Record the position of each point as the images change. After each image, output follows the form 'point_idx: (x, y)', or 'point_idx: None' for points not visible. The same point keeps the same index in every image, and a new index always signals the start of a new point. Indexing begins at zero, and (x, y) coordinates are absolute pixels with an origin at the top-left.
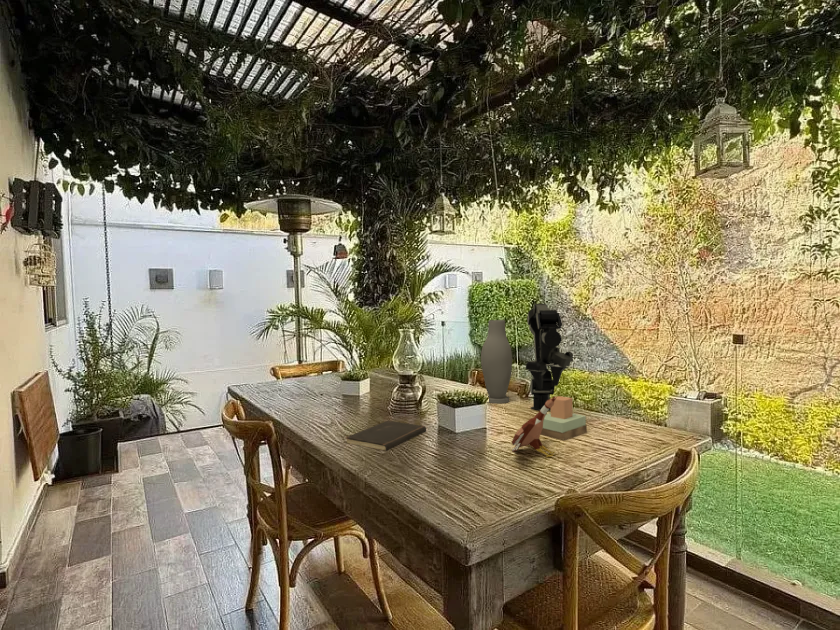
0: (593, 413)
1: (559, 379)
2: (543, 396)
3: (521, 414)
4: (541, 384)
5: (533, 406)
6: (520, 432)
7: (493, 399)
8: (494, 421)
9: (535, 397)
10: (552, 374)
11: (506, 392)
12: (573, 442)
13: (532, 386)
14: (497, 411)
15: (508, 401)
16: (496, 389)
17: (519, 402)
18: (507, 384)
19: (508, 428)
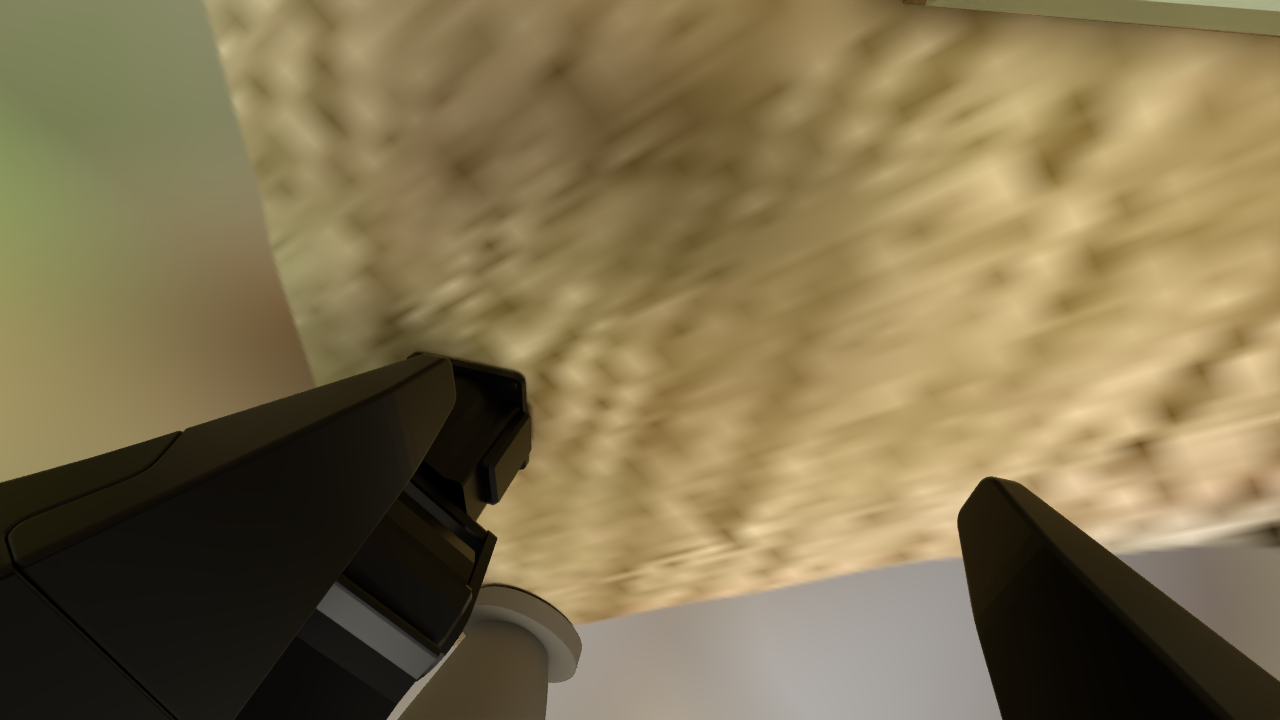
0: (229, 5)
1: (286, 400)
2: (440, 457)
3: (694, 460)
4: (1152, 584)
5: (525, 457)
6: None
7: (564, 649)
8: None
9: (481, 498)
10: (282, 635)
11: (473, 646)
12: None
13: (472, 602)
14: (719, 580)
15: (500, 589)
16: (532, 705)
17: None
18: (454, 702)
19: (1221, 395)
